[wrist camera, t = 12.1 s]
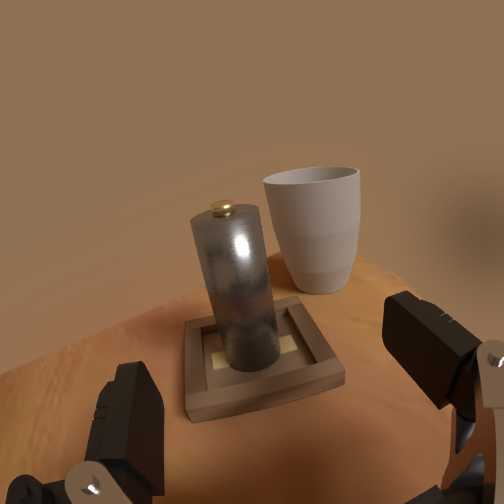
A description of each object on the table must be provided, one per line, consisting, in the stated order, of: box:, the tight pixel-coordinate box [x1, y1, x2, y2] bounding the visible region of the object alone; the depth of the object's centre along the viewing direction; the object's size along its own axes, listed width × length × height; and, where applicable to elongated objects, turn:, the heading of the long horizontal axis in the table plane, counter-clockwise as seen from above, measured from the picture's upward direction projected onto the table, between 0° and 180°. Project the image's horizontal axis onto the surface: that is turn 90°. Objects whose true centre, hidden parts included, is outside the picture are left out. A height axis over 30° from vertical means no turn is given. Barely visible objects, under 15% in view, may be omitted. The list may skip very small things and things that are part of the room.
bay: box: [185, 295, 345, 423], centre depth 19 cm, size 9×9×1 cm
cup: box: [263, 166, 360, 294], centre depth 25 cm, size 8×8×10 cm
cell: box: [190, 200, 281, 372], centre depth 17 cm, size 4×4×10 cm
